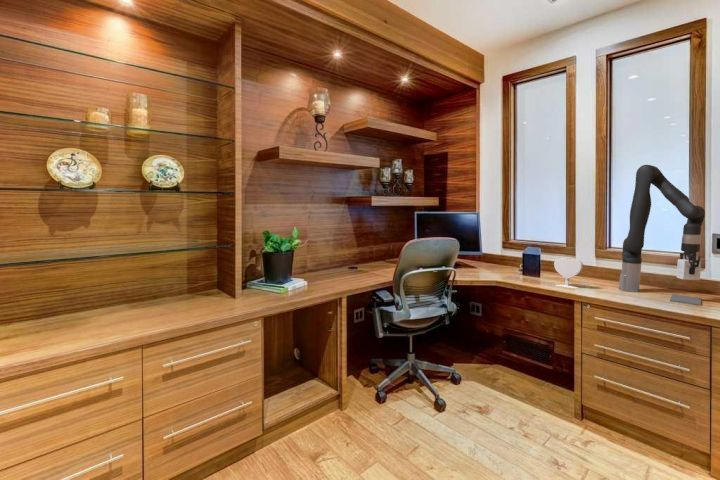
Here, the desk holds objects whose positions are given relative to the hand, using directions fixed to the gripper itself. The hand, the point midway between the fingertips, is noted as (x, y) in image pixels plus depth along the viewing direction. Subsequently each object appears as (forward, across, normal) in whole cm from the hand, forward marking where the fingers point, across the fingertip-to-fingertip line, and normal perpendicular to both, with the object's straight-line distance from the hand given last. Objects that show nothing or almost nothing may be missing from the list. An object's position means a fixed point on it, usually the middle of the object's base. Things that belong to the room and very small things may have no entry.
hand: (688, 273), depth 193 cm
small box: (+3, 0, 0) cm, 3 cm away
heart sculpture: (+15, +17, +54) cm, 59 cm away
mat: (+15, 0, 0) cm, 15 cm away
